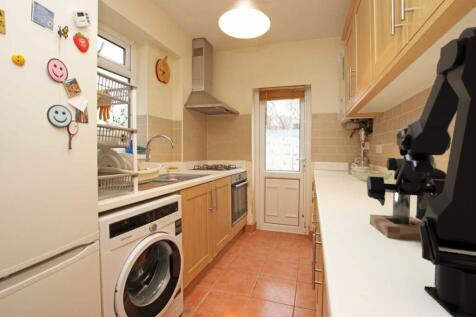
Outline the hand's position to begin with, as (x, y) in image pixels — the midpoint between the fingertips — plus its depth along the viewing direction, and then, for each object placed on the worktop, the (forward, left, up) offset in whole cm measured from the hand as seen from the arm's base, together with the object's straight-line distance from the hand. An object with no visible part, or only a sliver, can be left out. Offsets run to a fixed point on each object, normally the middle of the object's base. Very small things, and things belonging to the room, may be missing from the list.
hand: (400, 206), depth 67 cm
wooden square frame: (-1, 0, -7) cm, 7 cm away
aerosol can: (+15, -17, -8) cm, 24 cm away
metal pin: (-1, 0, -7) cm, 7 cm away
